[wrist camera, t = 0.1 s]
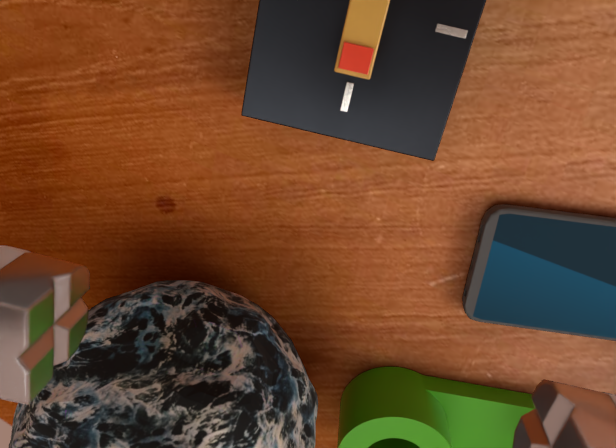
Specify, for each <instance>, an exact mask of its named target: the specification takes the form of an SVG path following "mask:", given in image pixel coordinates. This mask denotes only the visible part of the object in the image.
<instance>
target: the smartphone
mask: <svg viewBox="0 0 616 448" xmlns="http://www.w3.org/2000/svg"><path fill="white" fill-rule="evenodd" d="M462 301H463V308H464V311H465V313H466V314H467V316H468V317H469V318H470V319H472V320H475V321H479V322H485V323H492V324H499V325H506V326H514V327H521V328H528V329H535V330H542V331H549V332H556V333H563V334H570V335H577V336H585V337H592V338H599V339H606V340H613V341H616V218H611V217H603V216H595V215H587V214H579V213H571V212H563V211H555V210H547V209H539V208H531V207H523V206H515V205H507V204H505V205H495V206H493V207H492V208H490V209H489V210H487V212H486V213H485V215H484V217H483V218H482V221H481V225H480V229H479V233H478V237H477V241H476V245H475V249H474V253H473V257H472V261H471V265H470V269H469V273H468V277H467V281H466V285H465V289H464V293H463V297H462Z"/></svg>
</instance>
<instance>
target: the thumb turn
mask: <svg viewBox="0 0 616 448" xmlns="http://www.w3.org/2000/svg"><path fill="white" fill-rule="evenodd" d="M389 3H390V0H350V1H349V6H348V10H347V15H346V19H345V24H344V28H343V32H342V37H341V41H340V46H339V50H338V55H337V59H336V64H335V68H334V71H335V72H338V73H342V74H346V75H350V76H355V77H359V78H363V79H367V80H368V79H370V78H371V74H372V70H373V66H374V62H375V58H376V54H377V50H378V46H379V43H380V39H381V35H382V31H383V27H384V23H385V19H386V15H387V11H388V7H389Z"/></svg>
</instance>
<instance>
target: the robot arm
mask: <svg viewBox="0 0 616 448" xmlns="http://www.w3.org/2000/svg"><path fill="white" fill-rule="evenodd" d="M89 289H90V272H89V270H88V269H87V268H86V266H83V265H79V264H76V263H72V262H68V261H64V260H61V259H57V258H53V257H49V256H46V255H42V254H38V253H34V252H30V251H27V250H23V249H19V248H15V247H10V246H2V245H0V399H3V400H8V401H12V402H17V403H21V404H26V405H29V404H30V403H31V402H32V401H33V400H34V398H35V397H36V396H37V395H38V394H39V393H40V392H41V391H42V389H43V388H44V387H45V386H46V385H47V384H48V383H49V382H50V380H51V379H52V378H53V366H55V365H57V364H60V363H63V362H65V361H68V360H69V359H70V358H71V356H72V355H73V354H74V353H75V352H76V351H77V349H78V347H79V345H80V343H81V341H82V339H83V337H84V335H85V332H86V328H87V324H88V315H89V309H88V308H87V306H86V304H85V303H84V301H83V299H82V298H81V297H82V296H83V295H84V294H85V293H86V292H87V291H88V290H89ZM531 399H532V402H533V405H534V408H535V409H533V410H532V411H530V412H528V413H526V414H524V415H523V416H521V418H520V420H519V422H518V425H517V427H516V429H515V432H514V439H513V448H616V395H614V394H609V393H605V392H598V391H594V390H589V389H585V388H580V387H576V386H571V385H567V384H562V383H558V382H554V381H549V380H545V379H544V380H542V381H541V382H540V383H539V384H538V385H537V386H536V388H535V390H534V392H533V394H532V396H531Z"/></svg>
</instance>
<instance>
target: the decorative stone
mask: <svg viewBox="0 0 616 448" xmlns="http://www.w3.org/2000/svg"><path fill="white" fill-rule="evenodd" d="M317 411H318V398H317V393H316V391H315V388H314V386H313V385H312V383H311V382H310V380H309V378H308V375H307V373H306V370H305V368H304V366H303V363H302V361H301V359H300V357H299V355H298V353H297V351H296V349H295V347H294V345H293V342H292V340H291V339H290V338H289V337H288V336H287V334H286V333H285V332H284V330H283V329H282V328H281V326H280V325H279V324H278V323H277V321H276V320H275V319H274V318H273V317H272V316H270V315H269V314H268V313H267V312H266V311H265V310H263V309H262V308H261V307H260V306H259V305H257V304H255V303H254V302H252V301H250V300H248V299H246V298H245V297H243V296H241V295H238V294H236V293H233V292H230V291H227V290H224V289H221V288H218V287H216V286H213V285H210V284H207V283H203V282H198V281H188V280H170V281H160V282H154V283H152V284H149V285H146V286H144V287H141V288H138V289H135V290H133V291H130V292H126V293H123V294H120V295H117V296H114V297H111V298H108V299H105V300H104V301H102V302H100V303H99V304H97V305H95V306H94V307H92V308H91V309H90V310H89V315H88V324H87V328H86V332H85V335H84V337H83V339H82V341H81V343H80V345H79V347H78V349H77V351H76V352H75V353H74V354H73V355H72V356H71V358H70V359H69V360H68V361H65V362H63V363H60V364H57V365H55V366H53V378H52V379H51V380H50V382H49V383H48V384H47V385H46V386H45V387H44V388H43V389H42V391H41V392H40V393H39V394H38V395H37V396H36V397H35V398H34V400H33V401H32V402H31V403H30V404H29V405H26V404H21V403H18V405H17V408H16V411H15V414H14V419H13V426H12V435H11V441H10V444H9V448H315V422H316V418H317Z"/></svg>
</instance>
